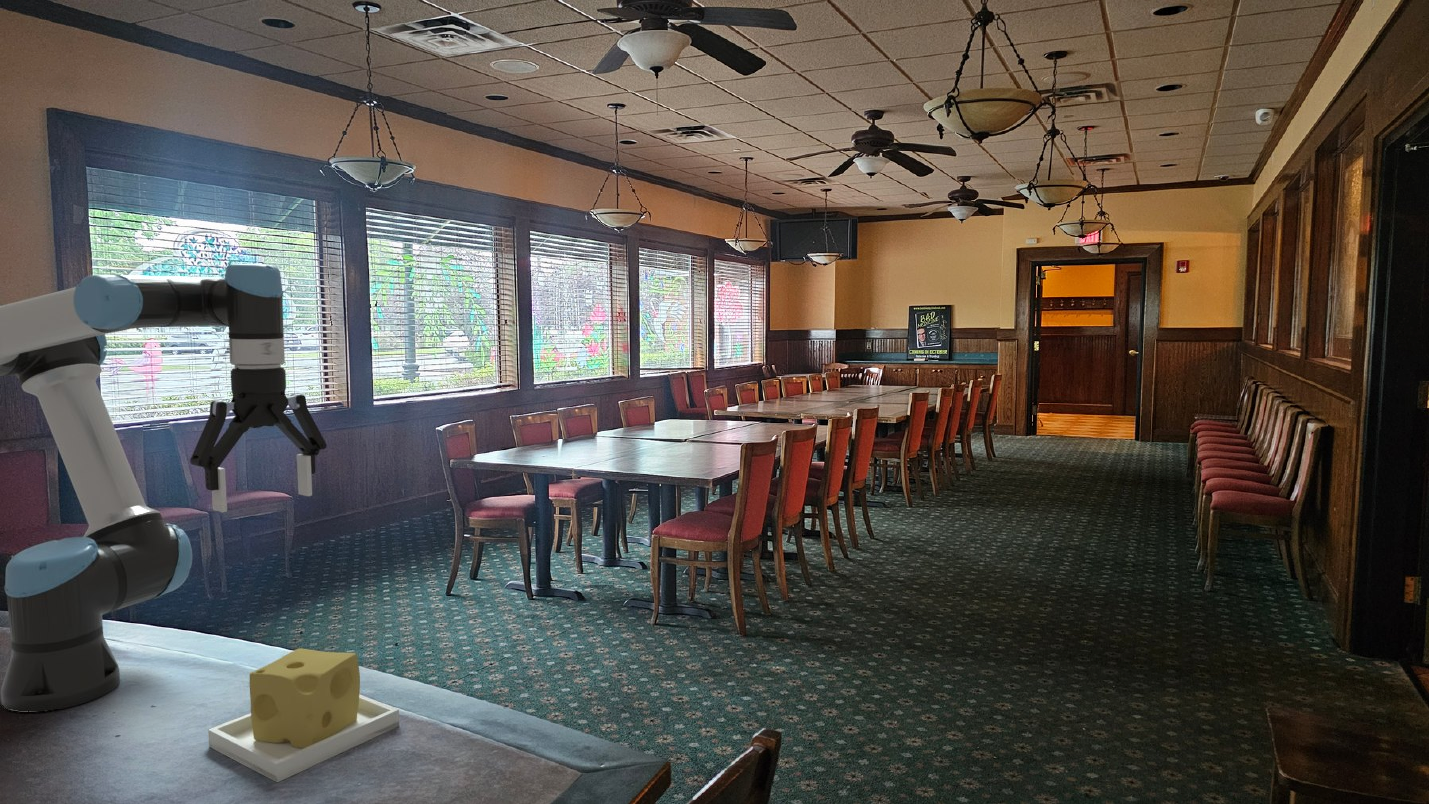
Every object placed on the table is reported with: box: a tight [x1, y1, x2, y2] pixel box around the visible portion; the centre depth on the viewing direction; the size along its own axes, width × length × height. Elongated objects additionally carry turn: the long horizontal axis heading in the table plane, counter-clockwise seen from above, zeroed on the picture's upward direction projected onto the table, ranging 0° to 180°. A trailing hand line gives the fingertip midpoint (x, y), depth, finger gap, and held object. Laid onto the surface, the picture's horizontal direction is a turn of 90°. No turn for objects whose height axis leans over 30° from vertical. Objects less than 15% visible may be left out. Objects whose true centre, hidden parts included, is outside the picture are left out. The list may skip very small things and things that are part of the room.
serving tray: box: [207, 693, 400, 783], centre depth 128 cm, size 17×19×2 cm
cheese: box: [249, 648, 361, 749], centre depth 128 cm, size 10×11×10 cm
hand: (264, 502), depth 141 cm, fingers open, 13 cm apart
